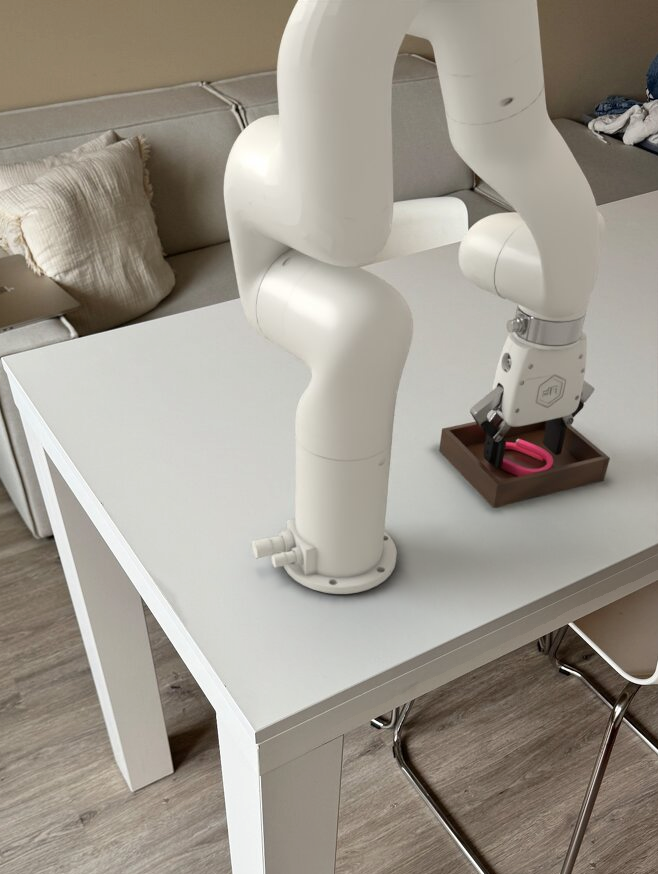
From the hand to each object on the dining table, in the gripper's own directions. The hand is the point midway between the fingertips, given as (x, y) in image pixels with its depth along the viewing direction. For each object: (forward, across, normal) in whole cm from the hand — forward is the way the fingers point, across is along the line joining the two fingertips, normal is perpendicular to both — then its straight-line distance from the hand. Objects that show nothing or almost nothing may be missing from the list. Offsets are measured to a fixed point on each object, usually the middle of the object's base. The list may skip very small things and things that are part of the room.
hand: (522, 455), depth 111 cm
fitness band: (+1, 0, 0) cm, 1 cm away
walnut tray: (+1, 0, 0) cm, 1 cm away
